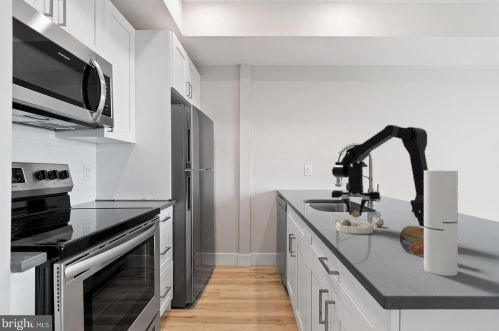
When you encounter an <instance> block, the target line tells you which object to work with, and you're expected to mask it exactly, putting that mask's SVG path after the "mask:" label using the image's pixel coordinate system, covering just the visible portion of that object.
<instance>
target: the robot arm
mask: <svg viewBox="0 0 499 331" xmlns="http://www.w3.org/2000/svg"><path fill="white" fill-rule="evenodd" d="M393 138H396V139H400V140H401V142H402V144H403V145H402V146H404V149H405V150H406V151H407V153H408V156H409V159H410V168H411V172H412V178H413V183H414V190H415V198H414V199H412V200H410V206H411V213H413V216H414V217H415V218H416V219H417V222H418V225H419V227H423V228H424V170H429V169H428V163H427V157H426V148H427V147H428V146H427V145H428V133H427V131H426V130H425V129H423V128H421V127H416V126H407V127H403V126H402V127H401V126H398V125H396V124H395V125H394V124H388V125H386V126H385V127H384V128H383V129H381V130H380V131H378V132H377V133H375V134H374V135H373V136H371V137H370V138H368V139H366V140H365V141H363V142H362V143H360V144H355V145H353V146H350V147H349V148H347V149H346V151H345V154H344V156H343V158H342V159H341V161H335V162H334V165H333V167H332V169H331V173H332V176H333V177H334V178H345V179H346V178H347V182H346V183H345V191H347V192H345V191H343V190H339V189H338V190H337V189H334V190H332V192H331V199H332V198H333V199H340V198H341V201H343V202H344V204H345V206H346V208H347V211H348V213H349V215H350V216H352V215H351V211H352V207H351V197H352V198H353V197H354V198H361V199H360V208H359V212H360V216H359V217H362V214H363V210H364V208H365V205H366V203H367V202H369V201H370V200H380V199H381V192H380V191H378V190H376V191H373V190H372V191H371V190H370V191H369V192H364V182H363V181H364V180H363V179H364V177H363V176H364V173H363V172H364V170H363V169H364V168H367V167H368V164H367V163H365V160H366V158H367V157H369V155H370V153H371V152H372V151H374V150H376V149H378V148H379V147H381V146H382V145H383V144H385V143H387V142H388V141H389V140H392V139H393Z"/></svg>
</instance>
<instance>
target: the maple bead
mask: <svg viewBox="0 0 499 331" xmlns="http://www.w3.org/2000/svg"><path fill="white" fill-rule="evenodd" d="M374 225H375V226H376V227H379V228H380V227H383V226H384V225H385V224H384V219H382V218H380V217H379V218H376V219H375V220H374Z"/></svg>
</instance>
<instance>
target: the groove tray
mask: <svg viewBox="0 0 499 331" xmlns="http://www.w3.org/2000/svg"><path fill="white" fill-rule="evenodd" d="M343 221H344V220H342V221H337V222H336V223H335V230H336V231H338V232H341V233H345V234H353V235H369V234H373V233H374V224H372V223H370V222H366V221H358V220H349V221H350V222H351V227H349V226H343V225H342V222H343Z"/></svg>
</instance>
